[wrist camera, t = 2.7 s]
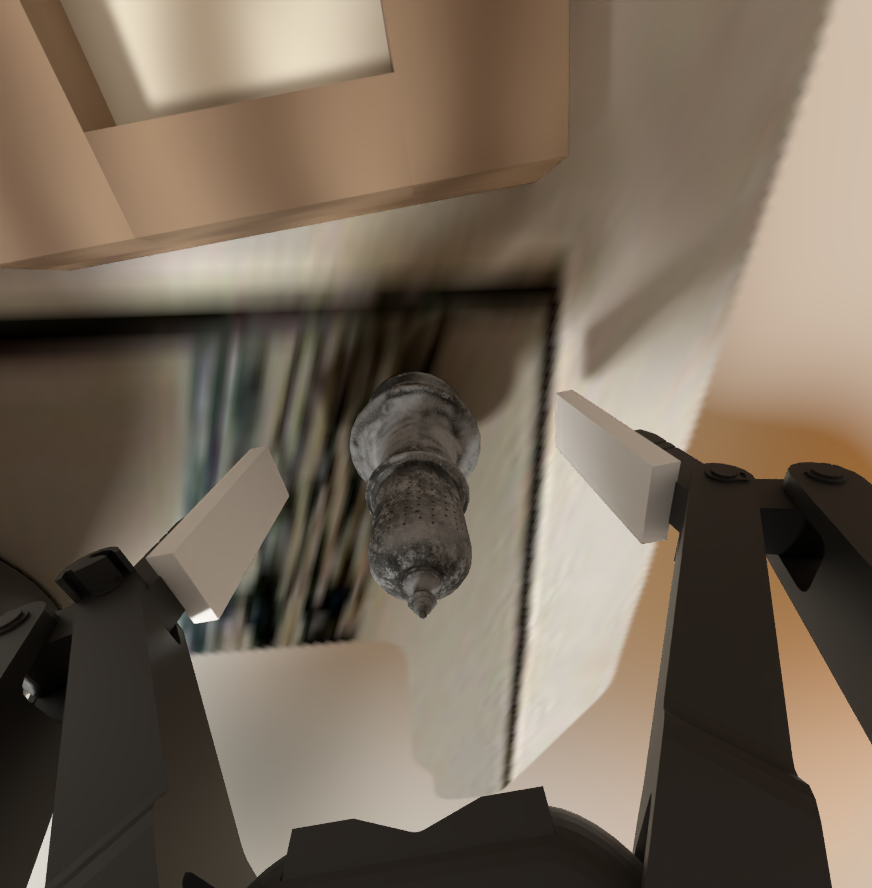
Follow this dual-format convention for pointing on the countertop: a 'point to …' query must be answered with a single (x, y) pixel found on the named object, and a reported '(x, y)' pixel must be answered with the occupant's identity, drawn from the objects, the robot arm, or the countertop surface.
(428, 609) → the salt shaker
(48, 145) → the wooden frame
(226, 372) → the countertop surface
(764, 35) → the countertop surface
